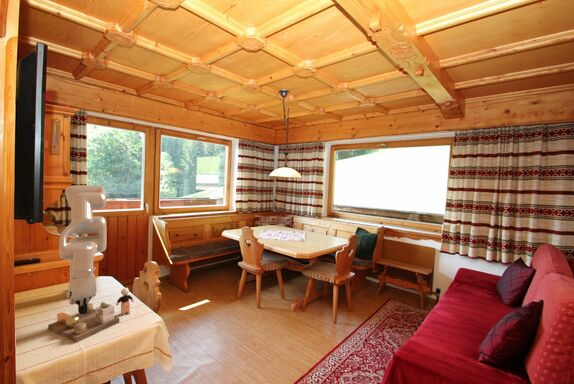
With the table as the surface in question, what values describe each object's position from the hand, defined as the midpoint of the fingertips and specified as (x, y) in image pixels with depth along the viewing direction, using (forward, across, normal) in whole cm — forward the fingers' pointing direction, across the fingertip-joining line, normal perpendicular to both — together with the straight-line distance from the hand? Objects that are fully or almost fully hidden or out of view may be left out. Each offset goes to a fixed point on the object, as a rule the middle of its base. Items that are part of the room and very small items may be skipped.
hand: (82, 312), depth 129 cm
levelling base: (+4, +2, +5) cm, 6 cm away
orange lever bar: (+2, +7, +1) cm, 7 cm away
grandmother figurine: (+4, -14, +9) cm, 17 cm away
